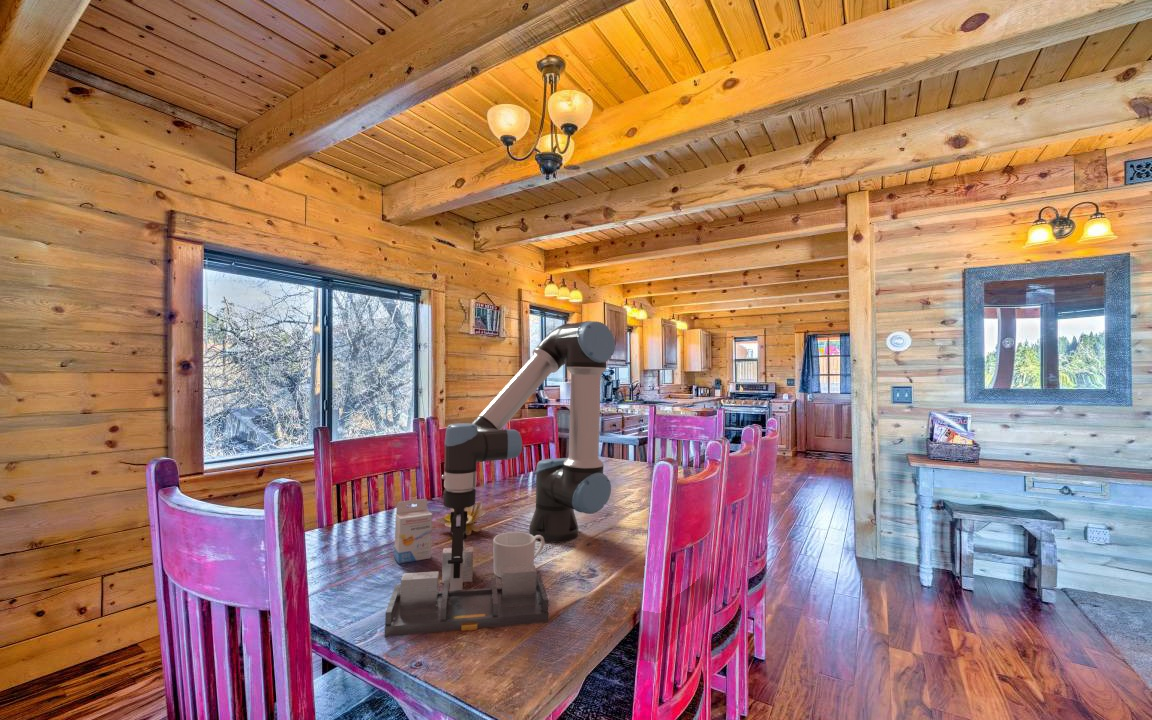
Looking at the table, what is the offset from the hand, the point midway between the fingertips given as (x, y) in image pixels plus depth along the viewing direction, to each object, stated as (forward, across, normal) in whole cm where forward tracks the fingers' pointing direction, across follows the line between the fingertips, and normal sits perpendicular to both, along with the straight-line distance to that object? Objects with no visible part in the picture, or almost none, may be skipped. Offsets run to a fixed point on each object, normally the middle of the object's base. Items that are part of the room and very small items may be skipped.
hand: (457, 578), depth 115 cm
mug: (0, -3, +15) cm, 15 cm away
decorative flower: (0, -35, 0) cm, 35 cm away
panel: (0, 0, 0) cm, 0 cm away
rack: (0, +16, +3) cm, 17 cm away
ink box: (0, -15, -12) cm, 19 cm away
